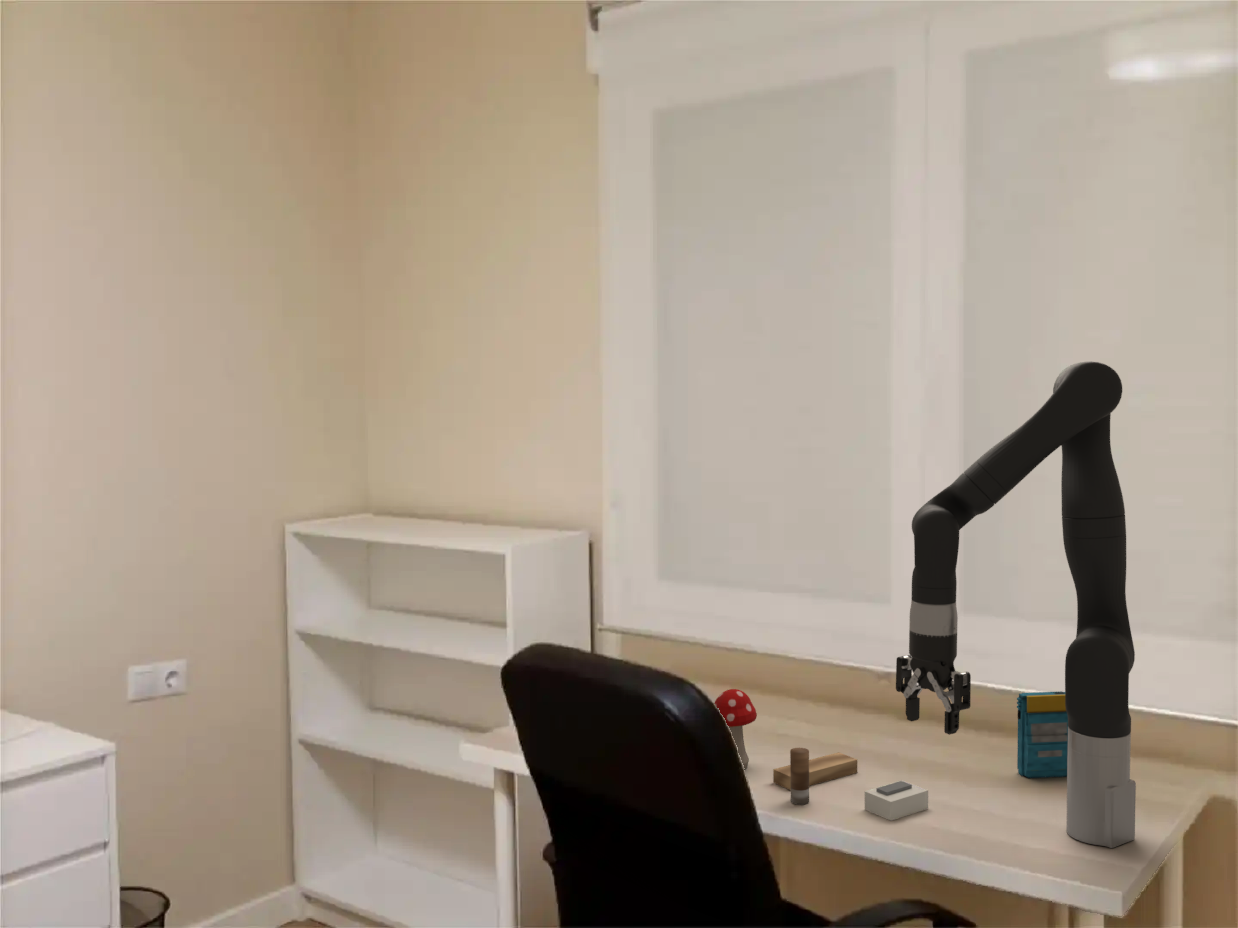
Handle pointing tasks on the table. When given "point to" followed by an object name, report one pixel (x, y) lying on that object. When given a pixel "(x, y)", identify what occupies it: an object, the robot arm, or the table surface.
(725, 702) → the decorative mushroom
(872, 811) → the block
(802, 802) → the brown cylinder
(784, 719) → the table surface
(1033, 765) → the handheld gaming console
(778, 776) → the batten
